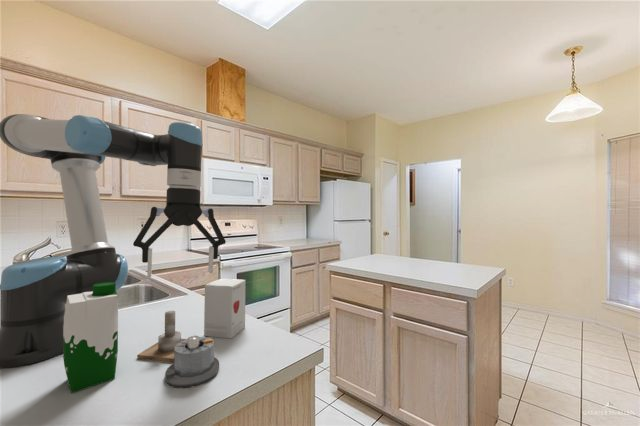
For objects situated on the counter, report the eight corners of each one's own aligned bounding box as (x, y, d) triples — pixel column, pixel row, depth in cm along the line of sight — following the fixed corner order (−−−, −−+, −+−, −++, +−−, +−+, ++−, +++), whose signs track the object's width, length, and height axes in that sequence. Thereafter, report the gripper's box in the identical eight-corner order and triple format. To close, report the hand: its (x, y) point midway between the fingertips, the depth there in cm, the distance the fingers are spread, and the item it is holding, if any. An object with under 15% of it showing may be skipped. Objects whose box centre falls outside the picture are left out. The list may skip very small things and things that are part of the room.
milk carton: (120, 378, 61) (121, 285, 61) (64, 397, 55) (65, 294, 55) (113, 363, 67) (114, 278, 67) (61, 378, 61) (62, 285, 61)
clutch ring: (175, 381, 58) (175, 355, 58) (173, 363, 65) (173, 339, 65) (216, 370, 62) (216, 346, 62) (210, 354, 69) (210, 332, 69)
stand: (137, 358, 69) (137, 317, 69) (166, 340, 79) (166, 304, 79) (174, 362, 68) (174, 320, 68) (198, 343, 78) (199, 307, 78)
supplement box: (231, 339, 81) (231, 286, 81) (203, 336, 82) (203, 284, 82) (246, 326, 89) (246, 279, 89) (220, 324, 91) (220, 277, 91)
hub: (152, 384, 59) (153, 347, 59) (186, 358, 70) (186, 326, 70) (201, 391, 57) (201, 352, 57) (228, 362, 68) (228, 330, 68)
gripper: (120, 183, 61) (117, 282, 61) (238, 190, 73) (236, 273, 73) (124, 185, 67) (122, 274, 68) (232, 191, 79) (230, 267, 80)
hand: (181, 274), depth 70 cm, fingers open, 13 cm apart
